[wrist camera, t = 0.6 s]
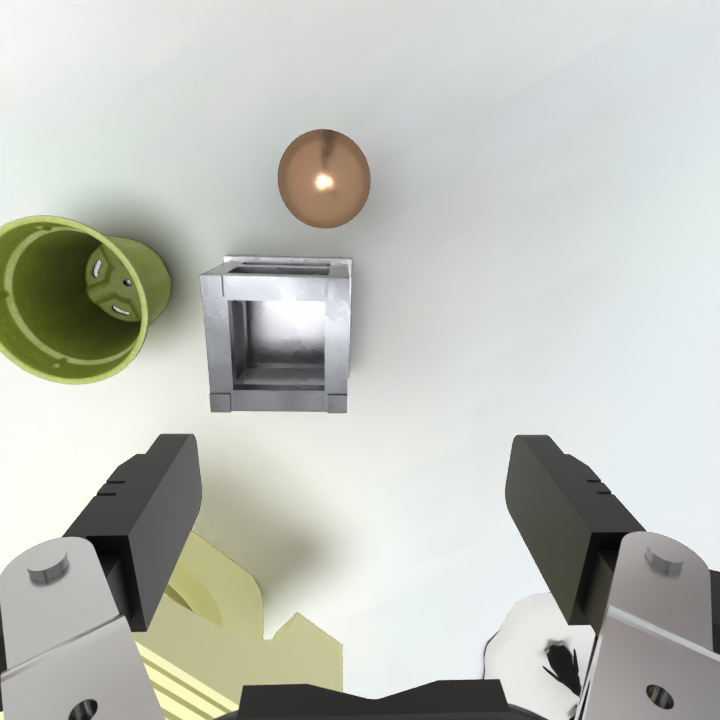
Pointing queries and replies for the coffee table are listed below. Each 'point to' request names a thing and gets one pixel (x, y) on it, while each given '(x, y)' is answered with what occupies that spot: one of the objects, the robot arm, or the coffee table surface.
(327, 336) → the metal frame cube
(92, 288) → the plant pot
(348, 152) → the tube
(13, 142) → the coffee table surface
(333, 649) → the slatted curved stool
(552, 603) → the figurine
